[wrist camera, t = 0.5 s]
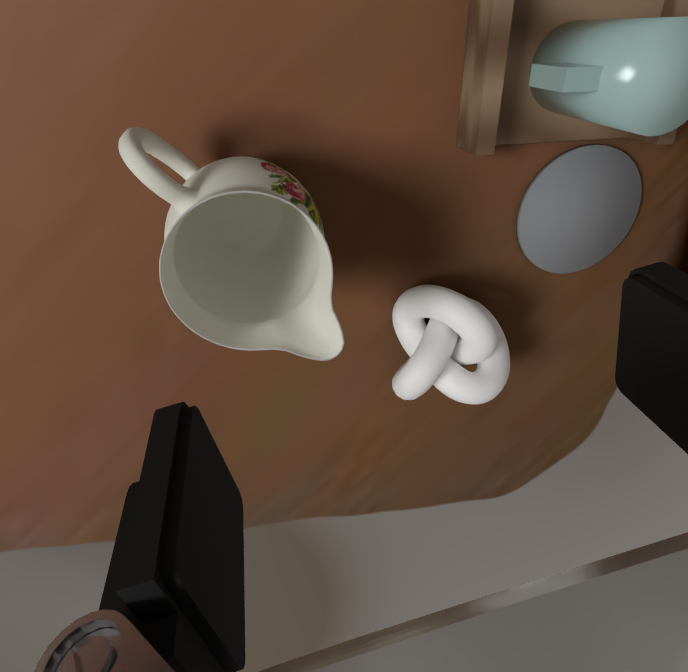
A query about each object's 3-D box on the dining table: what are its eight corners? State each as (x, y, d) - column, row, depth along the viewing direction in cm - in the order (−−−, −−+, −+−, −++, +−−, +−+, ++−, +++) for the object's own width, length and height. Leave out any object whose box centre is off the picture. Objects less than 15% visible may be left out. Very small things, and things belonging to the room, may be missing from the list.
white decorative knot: (422, 393, 56) (452, 450, 48) (344, 336, 50) (364, 390, 42) (501, 321, 53) (546, 370, 45) (427, 251, 47) (464, 294, 39)
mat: (528, 147, 44) (531, 149, 43) (653, 140, 45) (658, 141, 45) (507, 276, 50) (510, 278, 49) (618, 265, 51) (622, 267, 51)
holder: (477, -87, 35) (504, -99, 31) (698, -84, 37) (745, -95, 34) (456, 145, 42) (475, 155, 39) (640, 135, 45) (672, 143, 41)
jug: (507, 21, 38) (596, 18, 28) (616, 19, 39) (735, 15, 30) (495, 116, 41) (571, 140, 32) (595, 111, 42) (697, 133, 33)
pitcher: (192, 58, 36) (172, 71, 24) (356, 231, 45) (399, 302, 33) (95, 169, 38) (34, 230, 27) (269, 312, 47) (280, 405, 35)
